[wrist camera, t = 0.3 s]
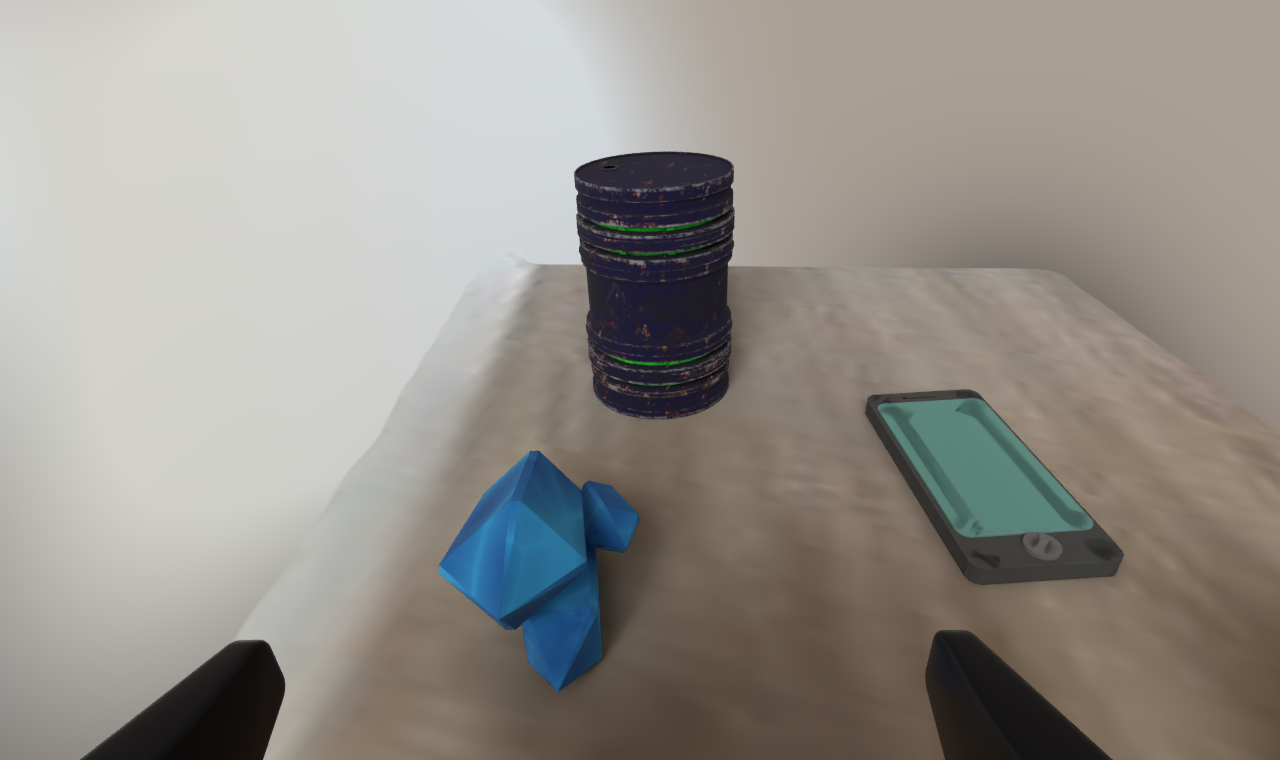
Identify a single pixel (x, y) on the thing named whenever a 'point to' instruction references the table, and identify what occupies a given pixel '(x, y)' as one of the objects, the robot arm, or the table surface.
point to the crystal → (542, 562)
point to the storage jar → (657, 279)
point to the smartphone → (989, 491)
